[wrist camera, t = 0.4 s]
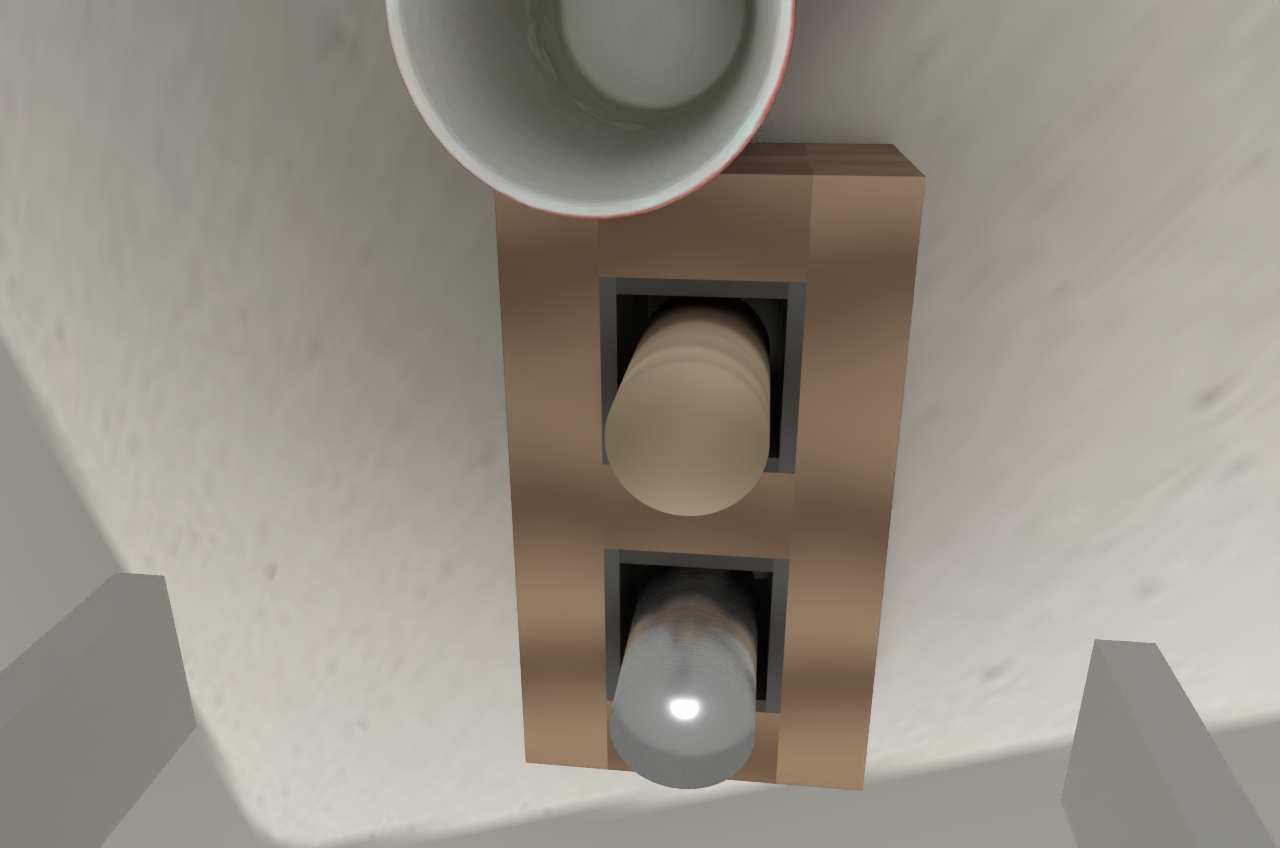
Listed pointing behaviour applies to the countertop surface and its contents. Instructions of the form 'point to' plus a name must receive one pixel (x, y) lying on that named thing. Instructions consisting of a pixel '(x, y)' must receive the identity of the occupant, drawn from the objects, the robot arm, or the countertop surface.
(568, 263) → the socket block
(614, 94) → the mug
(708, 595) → the steel peg
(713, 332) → the beech peg
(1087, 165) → the countertop surface
